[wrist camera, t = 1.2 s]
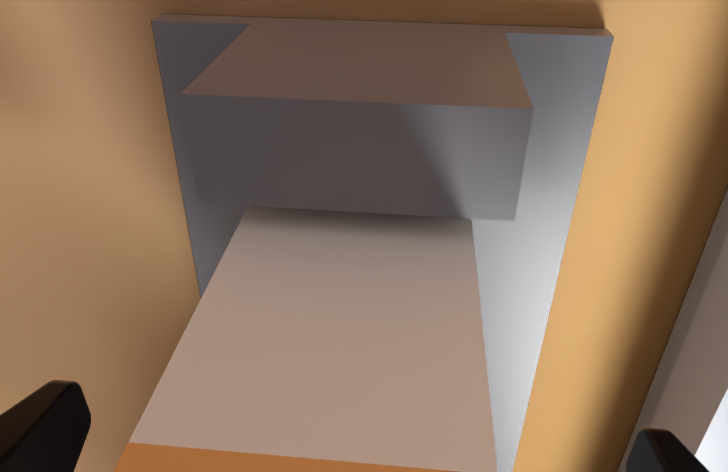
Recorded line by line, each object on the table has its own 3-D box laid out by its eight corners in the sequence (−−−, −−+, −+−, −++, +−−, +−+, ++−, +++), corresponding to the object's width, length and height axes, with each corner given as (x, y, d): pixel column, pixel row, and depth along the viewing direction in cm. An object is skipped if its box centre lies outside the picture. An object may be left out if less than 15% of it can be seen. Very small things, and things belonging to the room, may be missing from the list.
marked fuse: (438, 367, 15) (443, 806, 8) (300, 357, 15) (193, 774, 8) (463, 139, 11) (506, 565, 5) (285, 131, 12) (87, 523, 5)
